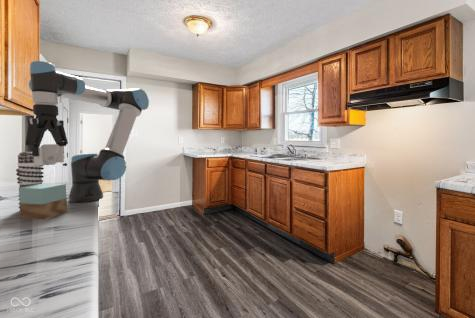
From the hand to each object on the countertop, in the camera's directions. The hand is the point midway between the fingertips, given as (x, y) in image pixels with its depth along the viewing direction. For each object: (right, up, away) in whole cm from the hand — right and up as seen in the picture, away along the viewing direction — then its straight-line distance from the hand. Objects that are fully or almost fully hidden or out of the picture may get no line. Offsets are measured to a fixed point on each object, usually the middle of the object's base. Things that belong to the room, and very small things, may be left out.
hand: (50, 163), depth 95 cm
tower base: (-5, -21, +4) cm, 22 cm away
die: (0, 0, 0) cm, 0 cm away
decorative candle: (-17, -20, +12) cm, 29 cm away
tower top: (-5, -15, +4) cm, 16 cm away
